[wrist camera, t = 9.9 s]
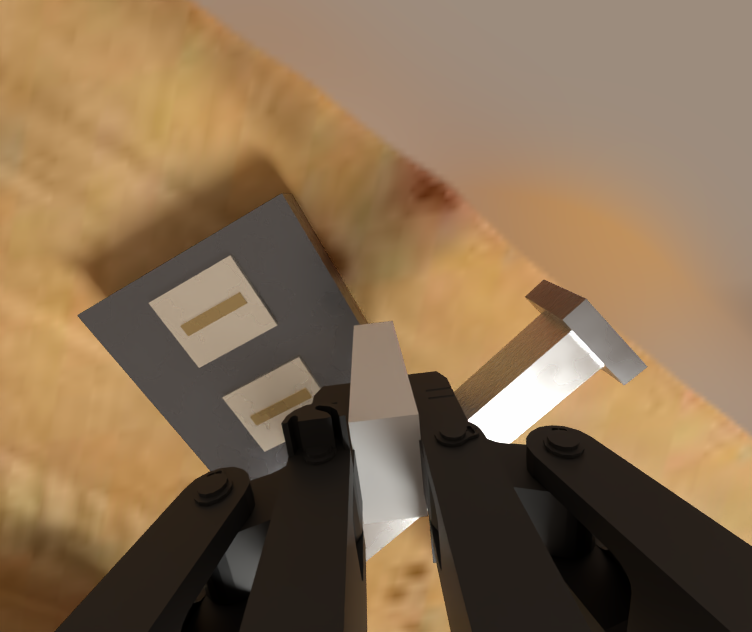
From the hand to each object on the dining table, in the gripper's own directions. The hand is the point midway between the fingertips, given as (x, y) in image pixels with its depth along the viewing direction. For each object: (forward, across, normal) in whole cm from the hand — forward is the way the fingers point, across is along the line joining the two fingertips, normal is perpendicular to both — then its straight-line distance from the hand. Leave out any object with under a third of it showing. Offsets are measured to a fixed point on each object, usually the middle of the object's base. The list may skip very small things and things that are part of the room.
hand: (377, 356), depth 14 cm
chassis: (+12, -7, -5) cm, 15 cm away
